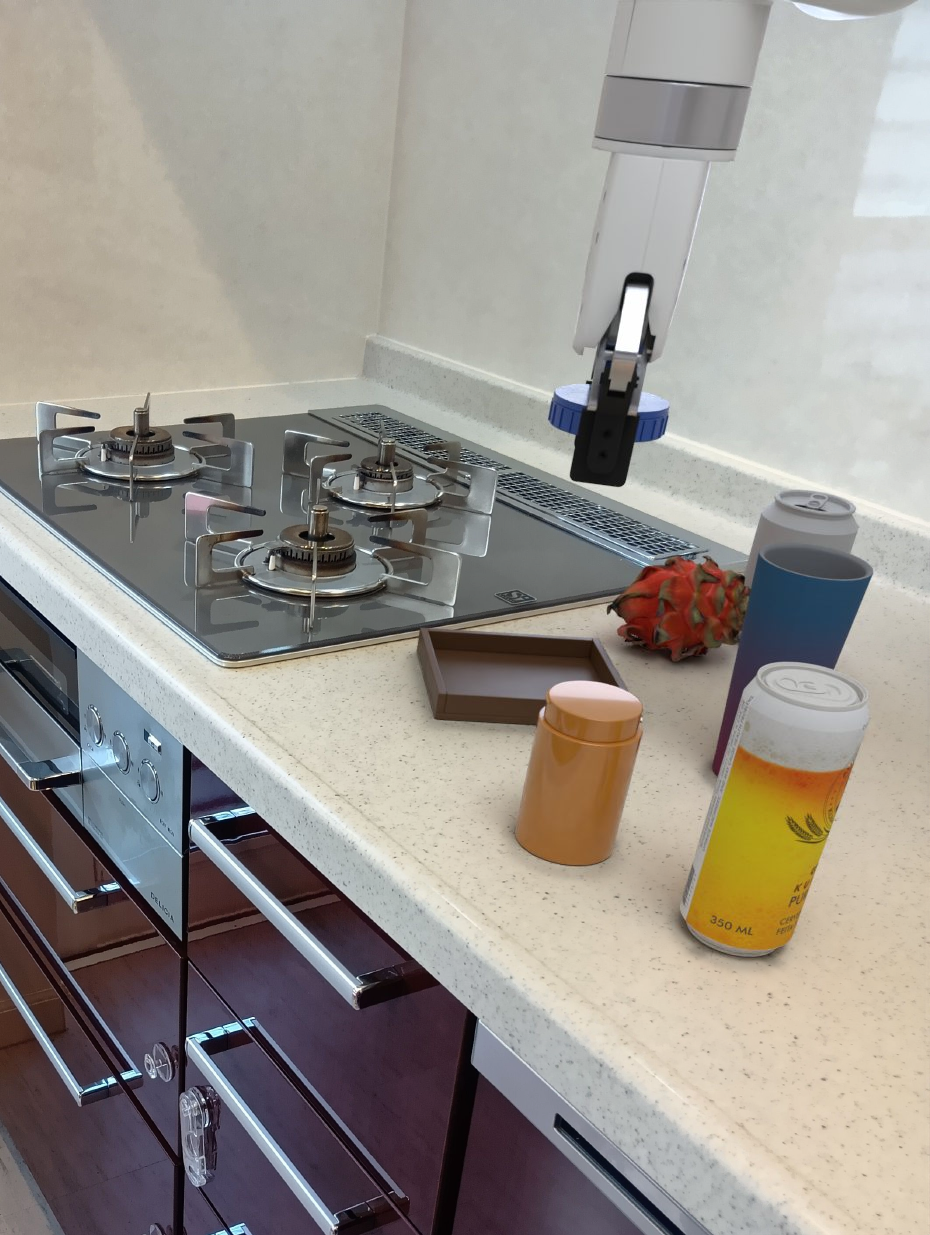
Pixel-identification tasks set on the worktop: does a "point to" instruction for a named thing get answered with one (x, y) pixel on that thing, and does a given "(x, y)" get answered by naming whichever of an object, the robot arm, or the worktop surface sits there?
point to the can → (804, 524)
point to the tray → (505, 672)
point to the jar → (579, 772)
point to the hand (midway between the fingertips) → (598, 464)
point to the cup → (794, 615)
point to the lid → (576, 397)
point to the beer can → (773, 806)
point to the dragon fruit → (683, 607)
